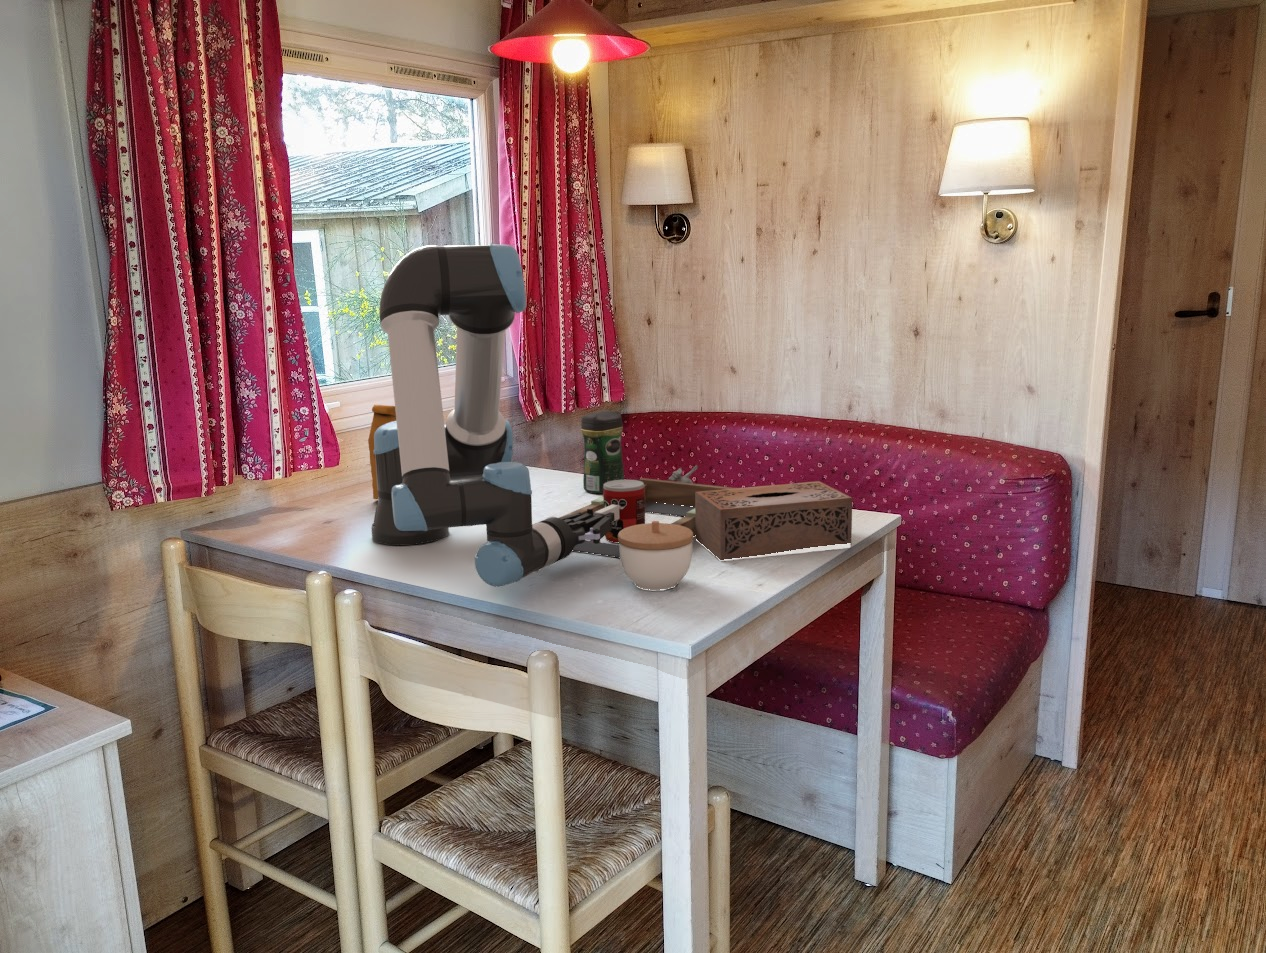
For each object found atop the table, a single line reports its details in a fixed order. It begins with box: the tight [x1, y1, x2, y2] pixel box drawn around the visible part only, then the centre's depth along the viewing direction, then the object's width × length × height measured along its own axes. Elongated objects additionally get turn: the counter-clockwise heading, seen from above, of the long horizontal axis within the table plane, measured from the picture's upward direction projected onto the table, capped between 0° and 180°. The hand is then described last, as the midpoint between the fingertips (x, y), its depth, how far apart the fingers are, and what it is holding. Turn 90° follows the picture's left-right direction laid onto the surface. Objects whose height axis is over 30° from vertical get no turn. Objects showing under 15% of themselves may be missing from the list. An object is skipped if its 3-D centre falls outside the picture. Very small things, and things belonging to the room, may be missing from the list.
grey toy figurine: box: [667, 464, 699, 484], centre depth 236 cm, size 10×6×9 cm
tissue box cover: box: [695, 480, 853, 560], centre depth 197 cm, size 26×14×10 cm, turn 105°
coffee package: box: [367, 404, 396, 500], centre depth 236 cm, size 10×12×22 cm
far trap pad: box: [645, 502, 695, 517], centre depth 223 cm, size 8×19×1 cm, turn 60°
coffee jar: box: [580, 410, 626, 494], centre depth 242 cm, size 10×8×19 cm
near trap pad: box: [573, 540, 620, 557], centre depth 197 cm, size 6×19×1 cm, turn 60°
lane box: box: [558, 477, 734, 536], centre depth 211 cm, size 40×24×5 cm, turn 150°
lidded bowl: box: [618, 520, 694, 590], centre depth 175 cm, size 13×13×11 cm
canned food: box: [602, 479, 646, 543], centre depth 203 cm, size 8×8×11 cm
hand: (615, 511), depth 199 cm, fingers closed
